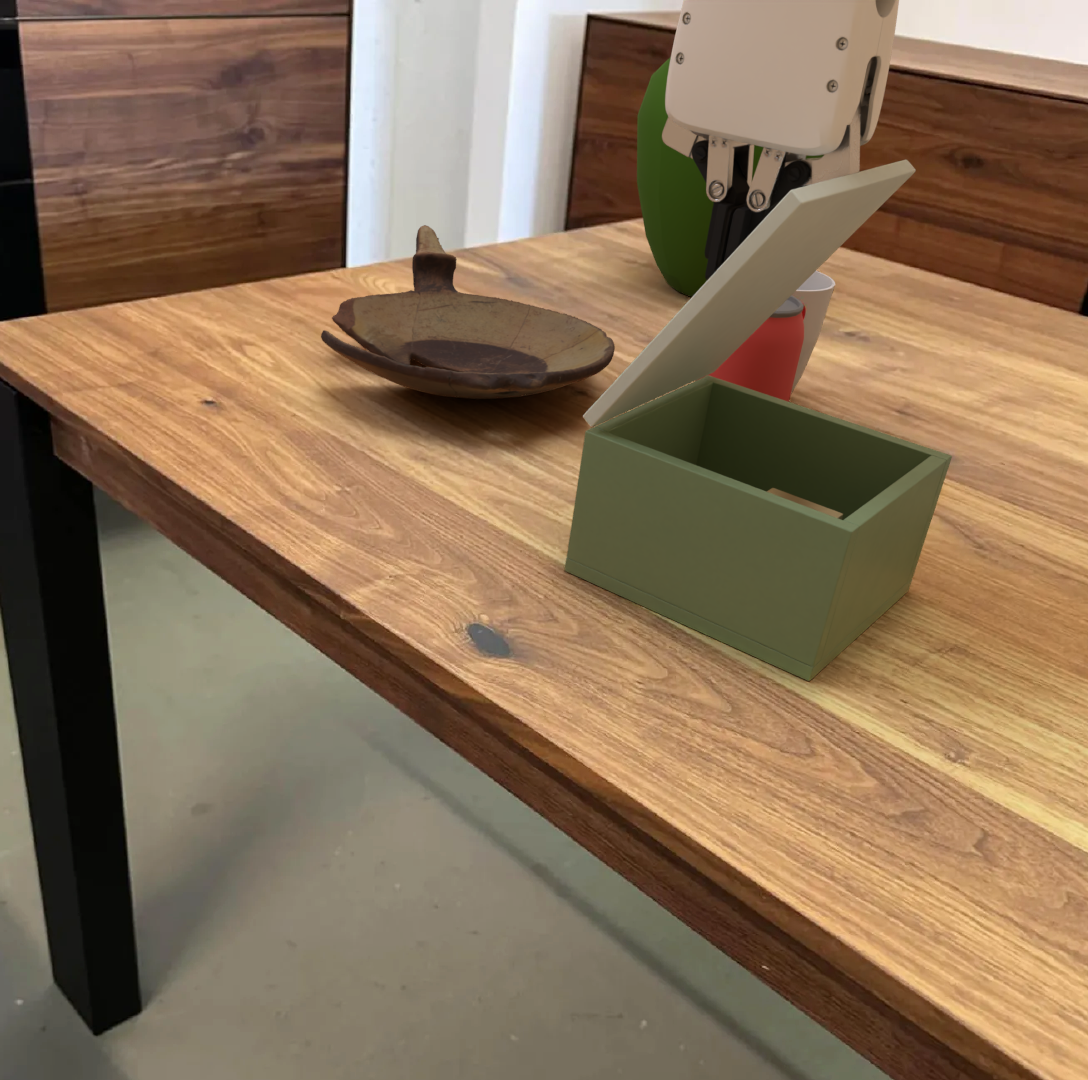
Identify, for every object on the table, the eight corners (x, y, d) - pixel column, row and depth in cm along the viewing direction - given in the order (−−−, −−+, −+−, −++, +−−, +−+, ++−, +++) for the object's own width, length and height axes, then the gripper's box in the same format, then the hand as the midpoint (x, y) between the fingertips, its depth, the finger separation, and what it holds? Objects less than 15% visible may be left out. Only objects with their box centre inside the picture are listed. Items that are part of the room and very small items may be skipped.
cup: (688, 395, 98) (712, 272, 93) (729, 371, 104) (754, 254, 99) (782, 424, 95) (812, 297, 89) (819, 398, 100) (850, 277, 95)
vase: (823, 328, 117) (892, 52, 104) (622, 310, 116) (667, 29, 103) (780, 272, 134) (835, 27, 121) (604, 256, 133) (640, 7, 120)
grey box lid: (917, 170, 64) (906, 158, 64) (802, 202, 55) (790, 188, 55) (713, 372, 76) (705, 362, 76) (590, 428, 67) (581, 416, 67)
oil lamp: (285, 426, 86) (286, 320, 82) (370, 303, 112) (374, 217, 108) (599, 468, 85) (616, 362, 81) (613, 333, 110) (626, 248, 106)
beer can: (695, 437, 91) (727, 277, 85) (782, 459, 89) (821, 297, 82) (668, 467, 86) (700, 299, 79) (759, 491, 84) (800, 321, 77)
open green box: (908, 591, 73) (952, 455, 68) (809, 681, 64) (852, 531, 59) (682, 502, 81) (708, 374, 76) (563, 570, 72) (584, 430, 67)
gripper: (999, -98, 55) (889, 302, 64) (710, -125, 62) (650, 237, 72) (938, -107, 50) (829, 330, 59) (631, -135, 57) (578, 257, 67)
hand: (731, 278), depth 66 cm, fingers closed
